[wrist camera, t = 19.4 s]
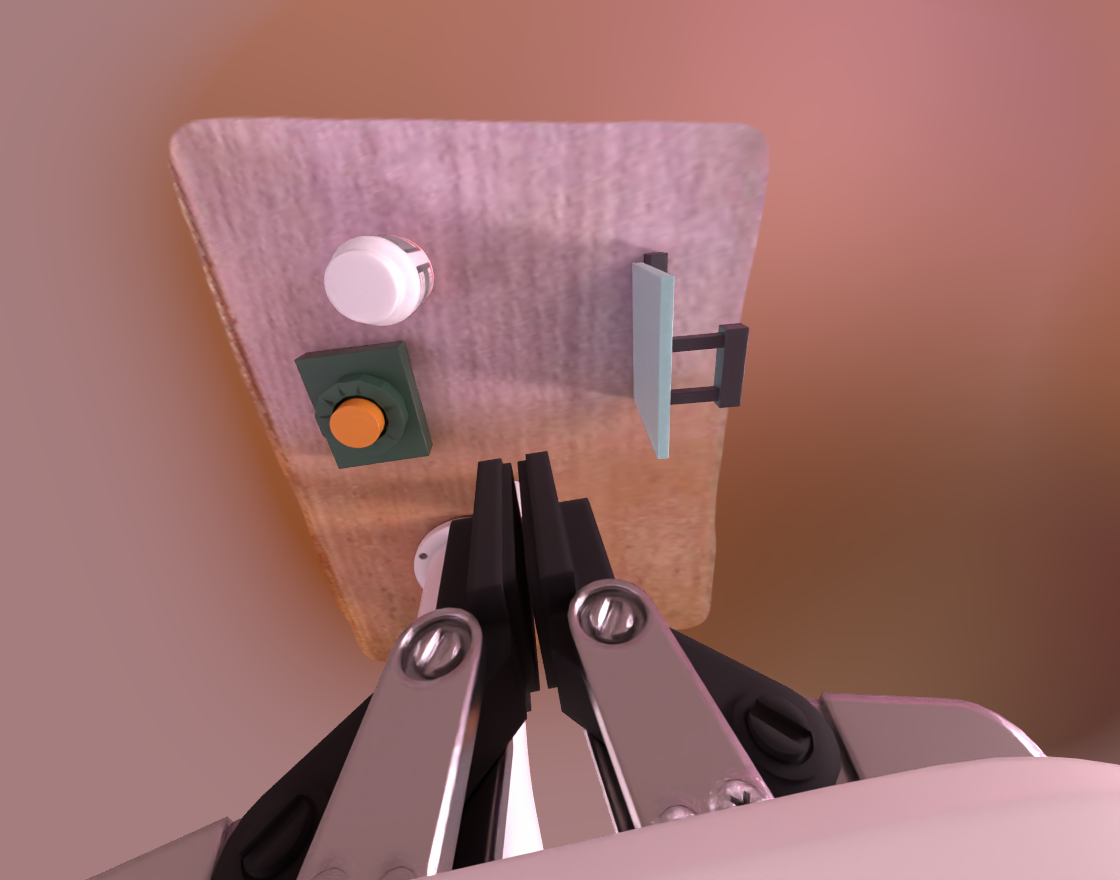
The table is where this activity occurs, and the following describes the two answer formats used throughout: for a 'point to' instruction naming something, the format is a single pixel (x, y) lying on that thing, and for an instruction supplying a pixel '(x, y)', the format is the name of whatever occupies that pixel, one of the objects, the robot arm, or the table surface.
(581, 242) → the table surface
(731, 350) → the pale blue flat panel
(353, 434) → the button
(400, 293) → the pill bottle
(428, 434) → the button box
